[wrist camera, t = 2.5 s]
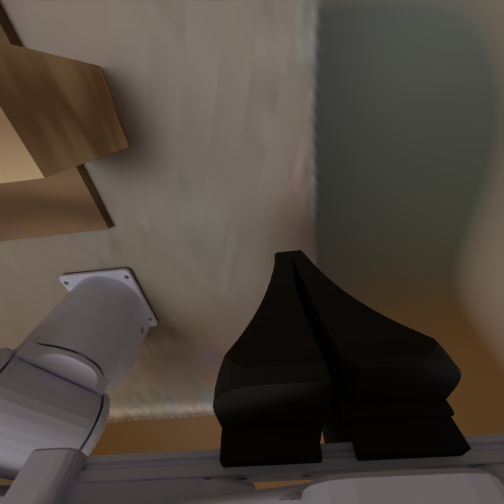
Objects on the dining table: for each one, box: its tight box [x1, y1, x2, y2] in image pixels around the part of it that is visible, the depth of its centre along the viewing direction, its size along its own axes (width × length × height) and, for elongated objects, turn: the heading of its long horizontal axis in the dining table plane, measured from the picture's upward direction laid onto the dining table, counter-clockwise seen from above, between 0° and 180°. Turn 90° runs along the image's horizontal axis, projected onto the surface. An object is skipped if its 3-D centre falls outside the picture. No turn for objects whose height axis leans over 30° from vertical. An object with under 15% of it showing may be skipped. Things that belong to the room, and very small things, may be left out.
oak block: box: [0, 42, 130, 183], centre depth 13 cm, size 5×4×9 cm
